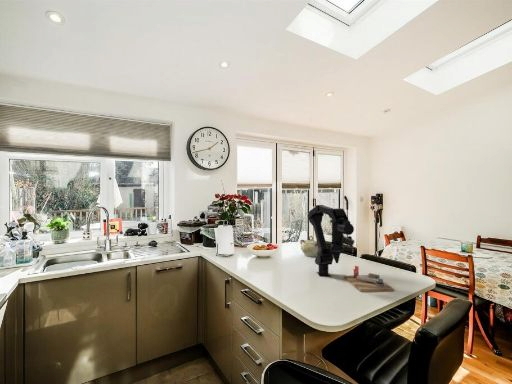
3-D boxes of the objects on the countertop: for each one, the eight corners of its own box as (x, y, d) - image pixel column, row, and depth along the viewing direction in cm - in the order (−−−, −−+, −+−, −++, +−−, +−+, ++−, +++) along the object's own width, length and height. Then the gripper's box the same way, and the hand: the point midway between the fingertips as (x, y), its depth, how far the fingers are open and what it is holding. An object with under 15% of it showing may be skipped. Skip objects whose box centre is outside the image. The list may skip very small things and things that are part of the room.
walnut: (367, 279, 137) (367, 272, 137) (373, 279, 137) (373, 272, 137) (370, 281, 133) (370, 274, 133) (376, 281, 133) (376, 274, 133)
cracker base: (344, 277, 143) (344, 271, 143) (373, 277, 144) (373, 270, 144) (360, 291, 123) (360, 284, 123) (393, 291, 124) (393, 283, 124)
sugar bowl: (327, 256, 190) (327, 236, 190) (315, 259, 180) (315, 239, 180) (306, 251, 205) (306, 233, 205) (294, 254, 196) (294, 235, 195)
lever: (383, 283, 129) (383, 271, 129) (381, 285, 126) (381, 272, 126) (355, 276, 139) (355, 265, 139) (352, 278, 137) (352, 266, 136)
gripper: (353, 235, 123) (353, 267, 123) (352, 230, 141) (352, 257, 141) (330, 234, 127) (330, 265, 127) (332, 229, 144) (332, 256, 145)
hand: (337, 260), depth 135 cm, fingers open, 9 cm apart
